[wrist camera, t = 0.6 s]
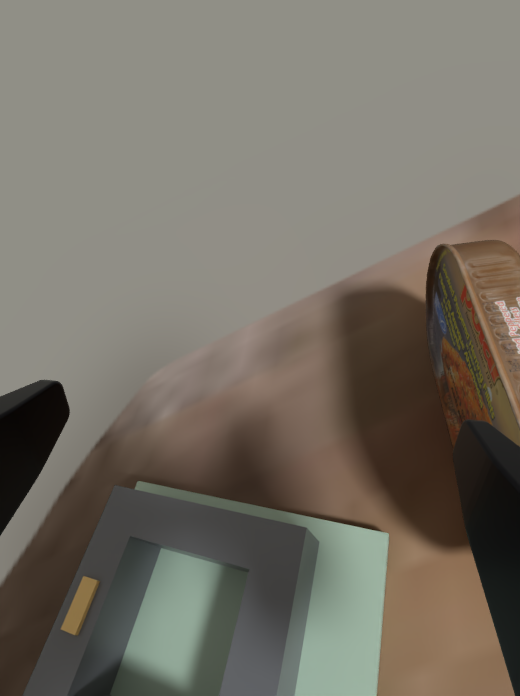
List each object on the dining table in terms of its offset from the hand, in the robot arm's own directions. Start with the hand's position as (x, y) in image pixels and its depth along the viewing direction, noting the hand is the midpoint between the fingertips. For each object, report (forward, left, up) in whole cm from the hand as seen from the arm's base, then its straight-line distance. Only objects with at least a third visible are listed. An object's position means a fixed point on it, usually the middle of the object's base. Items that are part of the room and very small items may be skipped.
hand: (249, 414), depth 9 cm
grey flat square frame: (-5, +6, -13) cm, 15 cm away
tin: (+7, -6, -14) cm, 17 cm away
